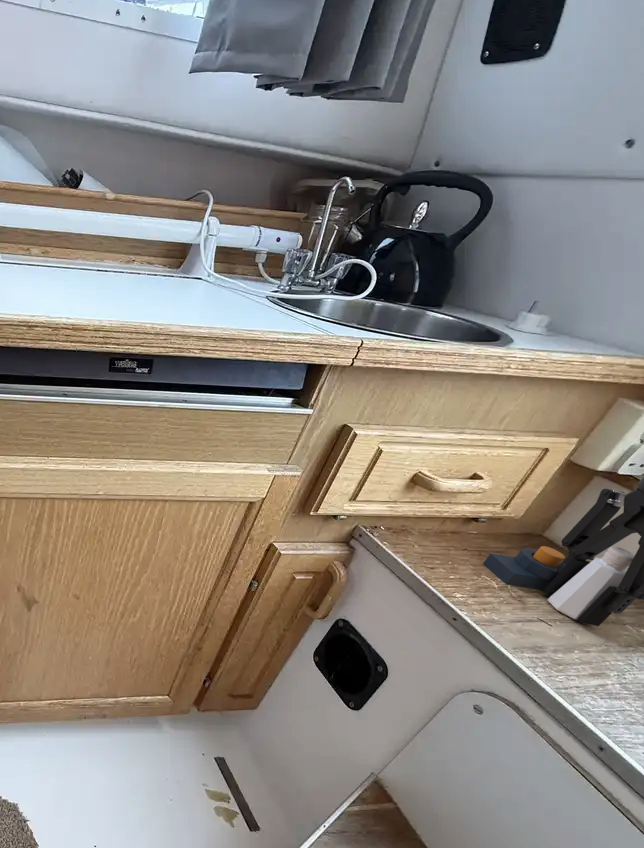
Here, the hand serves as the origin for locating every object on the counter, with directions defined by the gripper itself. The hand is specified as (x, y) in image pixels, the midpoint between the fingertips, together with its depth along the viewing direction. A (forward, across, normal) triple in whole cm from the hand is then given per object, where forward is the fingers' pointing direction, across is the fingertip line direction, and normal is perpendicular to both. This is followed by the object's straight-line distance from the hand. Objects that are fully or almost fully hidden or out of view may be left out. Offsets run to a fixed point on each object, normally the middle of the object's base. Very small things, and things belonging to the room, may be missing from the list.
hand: (569, 607), depth 81 cm
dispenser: (+1, -7, 0) cm, 7 cm away
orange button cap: (-3, -7, 0) cm, 8 cm away
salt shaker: (0, 0, 0) cm, 1 cm away
